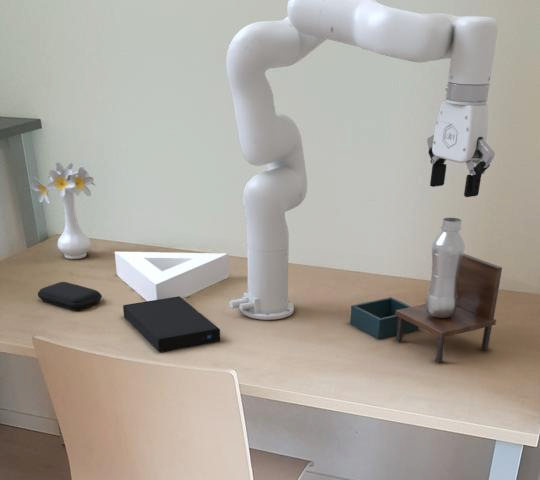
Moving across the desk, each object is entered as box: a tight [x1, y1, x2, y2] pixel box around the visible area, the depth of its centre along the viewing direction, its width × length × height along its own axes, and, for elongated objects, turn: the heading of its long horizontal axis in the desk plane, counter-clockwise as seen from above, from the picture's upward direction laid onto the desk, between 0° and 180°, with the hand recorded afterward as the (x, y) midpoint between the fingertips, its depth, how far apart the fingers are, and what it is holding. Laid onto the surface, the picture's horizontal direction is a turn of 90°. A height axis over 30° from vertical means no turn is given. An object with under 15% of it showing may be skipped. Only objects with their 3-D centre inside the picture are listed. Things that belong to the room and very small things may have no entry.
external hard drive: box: [122, 296, 221, 353], centre depth 177 cm, size 14×23×3 cm, turn 27°
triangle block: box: [114, 251, 230, 302], centre depth 203 cm, size 30×26×6 cm
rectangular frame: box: [349, 296, 420, 340], centre depth 179 cm, size 12×11×4 cm
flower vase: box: [29, 160, 96, 260], centre depth 217 cm, size 13×18×25 cm
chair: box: [395, 253, 503, 364], centre depth 166 cm, size 15×15×18 cm
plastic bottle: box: [424, 217, 466, 318], centre depth 162 cm, size 6×7×20 cm
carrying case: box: [37, 281, 103, 311], centre depth 192 cm, size 11×3×15 cm
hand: (453, 190), depth 154 cm, fingers open, 9 cm apart
